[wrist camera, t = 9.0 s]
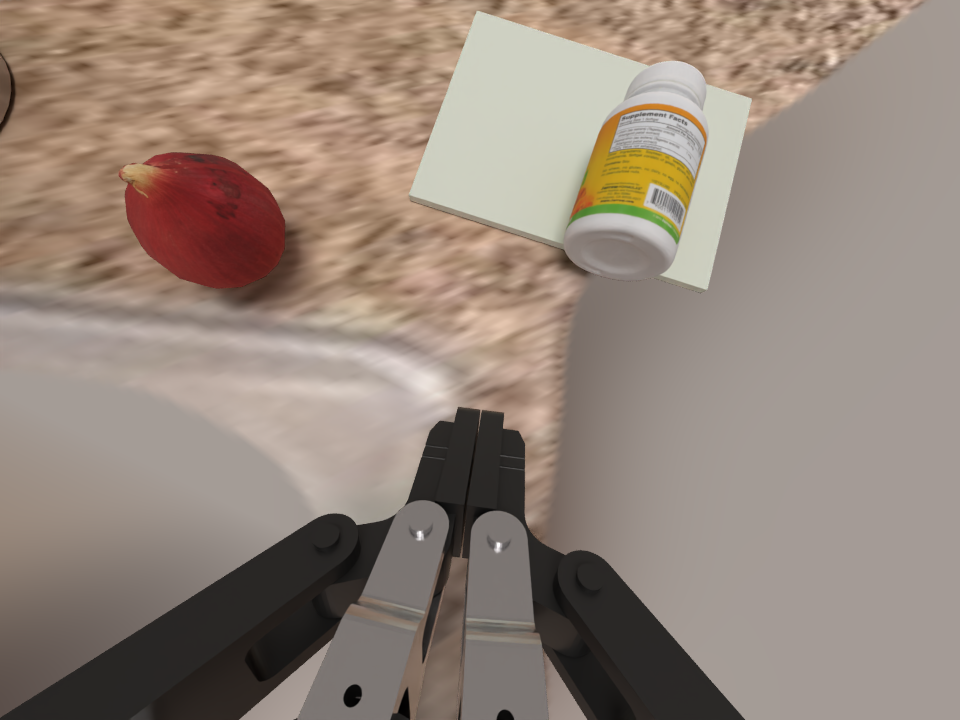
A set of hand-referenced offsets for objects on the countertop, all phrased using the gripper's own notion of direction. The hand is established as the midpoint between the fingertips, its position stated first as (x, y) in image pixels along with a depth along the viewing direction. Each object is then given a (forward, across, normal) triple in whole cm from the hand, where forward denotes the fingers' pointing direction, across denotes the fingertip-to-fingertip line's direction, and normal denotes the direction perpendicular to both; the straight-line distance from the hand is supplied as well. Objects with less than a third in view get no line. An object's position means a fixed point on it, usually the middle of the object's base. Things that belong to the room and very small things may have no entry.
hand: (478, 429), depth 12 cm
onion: (+11, +14, -1) cm, 18 cm away
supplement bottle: (+10, -5, -3) cm, 12 cm away
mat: (+18, -4, -7) cm, 20 cm away
